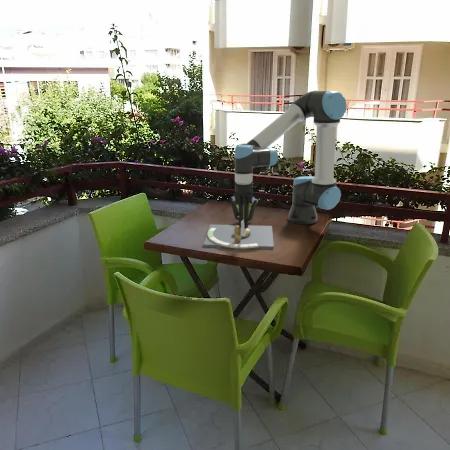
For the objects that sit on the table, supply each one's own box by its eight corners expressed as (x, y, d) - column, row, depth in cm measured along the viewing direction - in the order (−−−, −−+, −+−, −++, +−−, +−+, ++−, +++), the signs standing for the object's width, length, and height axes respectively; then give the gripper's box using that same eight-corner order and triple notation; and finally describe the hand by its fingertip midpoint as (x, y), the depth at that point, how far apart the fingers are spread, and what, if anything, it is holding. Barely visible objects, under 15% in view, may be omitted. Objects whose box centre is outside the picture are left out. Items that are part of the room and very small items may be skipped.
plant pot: (253, 225, 197) (253, 209, 194) (235, 224, 199) (235, 208, 196) (255, 219, 206) (255, 203, 203) (238, 218, 208) (238, 202, 205)
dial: (235, 230, 186) (235, 216, 184) (251, 231, 184) (252, 217, 182) (226, 243, 171) (226, 228, 168) (244, 245, 169) (244, 230, 166)
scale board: (271, 228, 193) (272, 224, 192) (273, 251, 166) (274, 247, 165) (210, 226, 195) (210, 222, 195) (202, 249, 168) (202, 245, 168)
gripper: (261, 181, 164) (260, 234, 171) (233, 179, 169) (233, 230, 176) (255, 185, 157) (254, 239, 165) (226, 183, 162) (226, 235, 170)
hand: (243, 235), depth 171 cm, fingers closed
